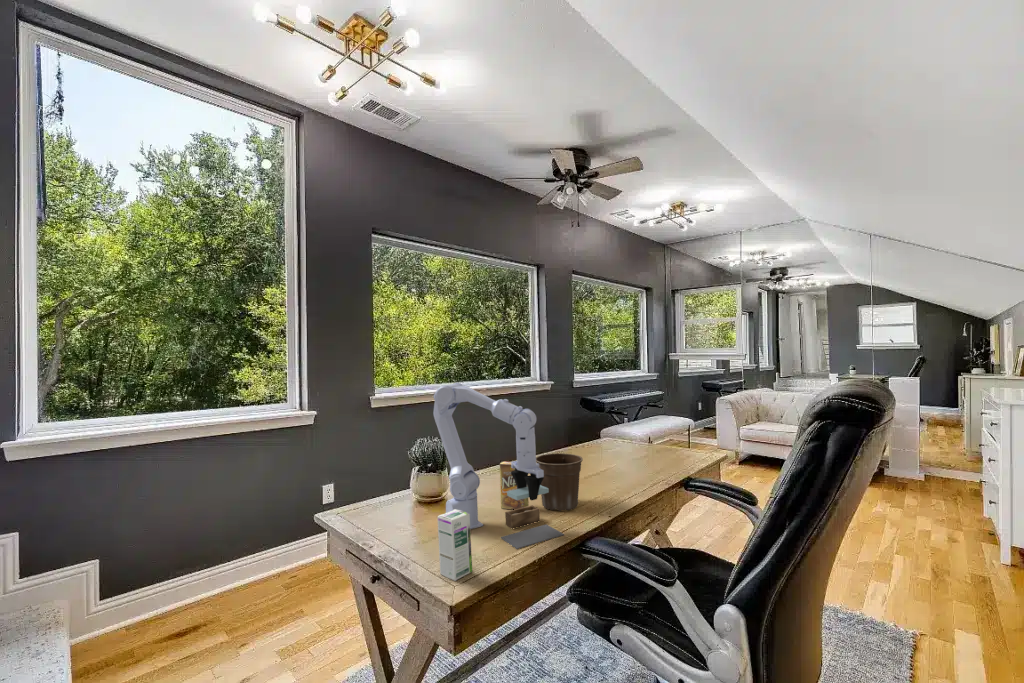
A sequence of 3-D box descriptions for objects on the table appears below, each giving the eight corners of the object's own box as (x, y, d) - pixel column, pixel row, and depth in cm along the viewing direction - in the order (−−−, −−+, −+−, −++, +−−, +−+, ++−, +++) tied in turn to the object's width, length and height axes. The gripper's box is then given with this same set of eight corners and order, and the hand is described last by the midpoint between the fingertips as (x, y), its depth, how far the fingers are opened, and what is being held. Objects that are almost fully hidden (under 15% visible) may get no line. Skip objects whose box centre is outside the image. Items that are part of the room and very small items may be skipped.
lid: (517, 500, 130) (516, 496, 130) (507, 495, 135) (507, 491, 135) (548, 492, 136) (548, 488, 136) (538, 488, 141) (538, 484, 141)
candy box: (500, 508, 155) (499, 463, 155) (505, 504, 159) (503, 460, 159) (525, 511, 152) (523, 465, 152) (529, 507, 155) (527, 462, 156)
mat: (516, 549, 123) (516, 548, 123) (500, 538, 131) (500, 537, 131) (564, 535, 132) (564, 534, 132) (546, 525, 139) (546, 524, 139)
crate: (512, 529, 137) (511, 515, 137) (505, 524, 141) (505, 511, 141) (539, 521, 142) (539, 508, 142) (532, 517, 146) (532, 505, 146)
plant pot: (562, 494, 168) (560, 450, 168) (594, 505, 155) (592, 458, 155) (527, 504, 158) (525, 458, 158) (558, 517, 145) (556, 467, 145)
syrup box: (455, 581, 107) (452, 520, 108) (439, 574, 111) (437, 514, 111) (472, 572, 112) (470, 512, 112) (456, 565, 116) (454, 507, 116)
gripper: (551, 453, 131) (553, 500, 131) (524, 445, 144) (525, 488, 143) (531, 457, 128) (533, 505, 127) (504, 448, 140) (506, 492, 140)
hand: (527, 496), depth 135 cm, fingers closed on lid, 5 cm apart
